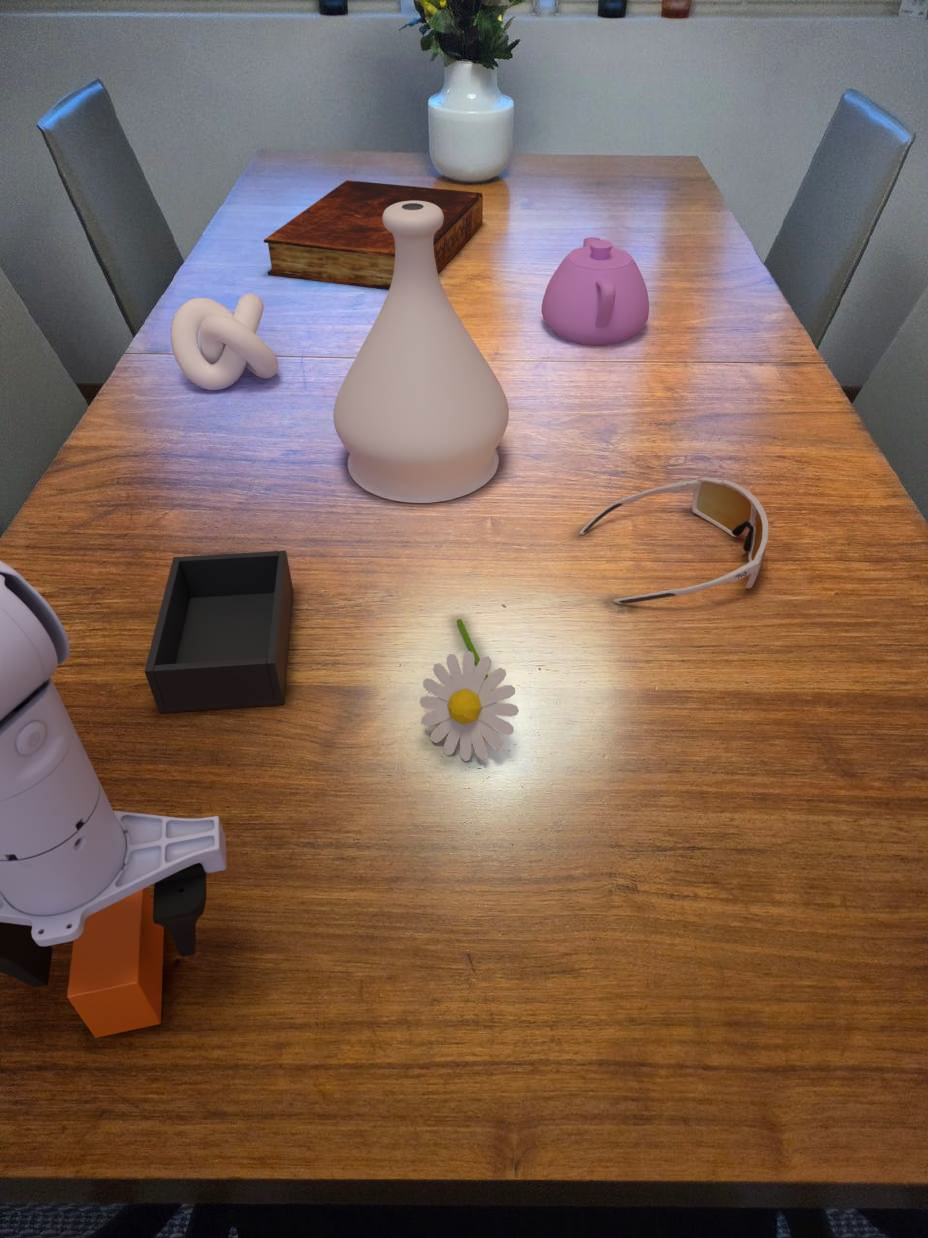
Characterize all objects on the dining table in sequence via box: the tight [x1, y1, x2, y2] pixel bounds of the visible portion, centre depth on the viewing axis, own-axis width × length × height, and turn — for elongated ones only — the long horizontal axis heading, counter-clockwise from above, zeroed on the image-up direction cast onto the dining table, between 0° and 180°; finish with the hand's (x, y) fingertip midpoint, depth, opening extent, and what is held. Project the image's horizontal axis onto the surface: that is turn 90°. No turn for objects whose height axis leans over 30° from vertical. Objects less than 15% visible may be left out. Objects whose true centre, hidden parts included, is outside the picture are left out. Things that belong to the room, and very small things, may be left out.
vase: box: [332, 201, 510, 504], centre depth 82 cm, size 17×17×25 cm
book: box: [263, 179, 484, 291], centre depth 135 cm, size 30×24×5 cm
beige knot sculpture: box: [170, 292, 279, 391], centre depth 102 cm, size 11×12×9 cm
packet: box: [66, 887, 165, 1039], centre depth 48 cm, size 4×6×5 cm, turn 13°
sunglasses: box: [578, 476, 770, 605], centre depth 78 cm, size 14×15×5 cm
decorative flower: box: [419, 618, 520, 762], centre depth 65 cm, size 8×6×15 cm
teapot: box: [541, 236, 650, 346], centre depth 112 cm, size 14×20×11 cm
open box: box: [144, 550, 294, 714], centre depth 69 cm, size 9×13×4 cm
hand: (117, 953), depth 48 cm, fingers open, 7 cm apart
